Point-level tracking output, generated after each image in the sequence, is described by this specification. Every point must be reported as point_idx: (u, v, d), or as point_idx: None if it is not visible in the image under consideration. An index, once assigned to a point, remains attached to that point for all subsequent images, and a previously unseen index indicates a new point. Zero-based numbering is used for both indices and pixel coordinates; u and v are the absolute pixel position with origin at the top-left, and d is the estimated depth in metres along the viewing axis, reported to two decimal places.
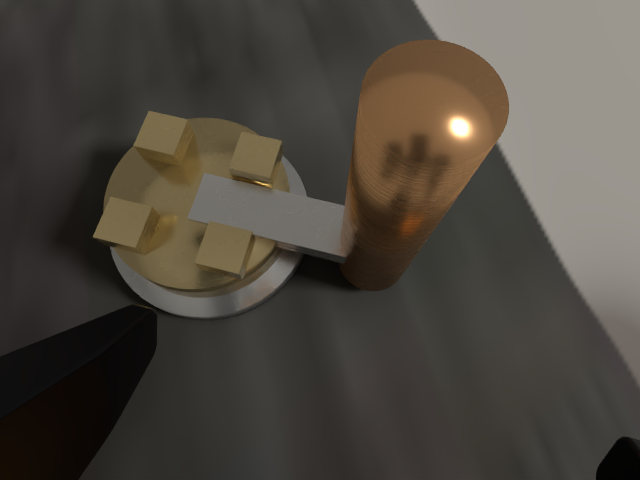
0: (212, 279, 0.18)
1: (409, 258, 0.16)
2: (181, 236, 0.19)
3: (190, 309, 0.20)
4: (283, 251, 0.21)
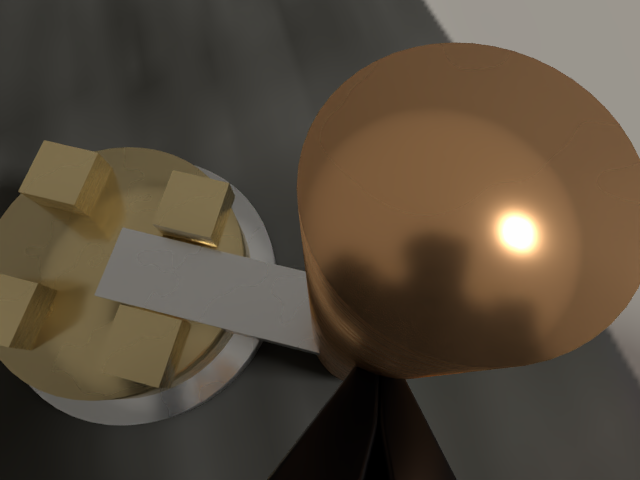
0: (126, 388, 0.12)
1: None
2: (85, 321, 0.13)
3: (106, 414, 0.14)
4: None
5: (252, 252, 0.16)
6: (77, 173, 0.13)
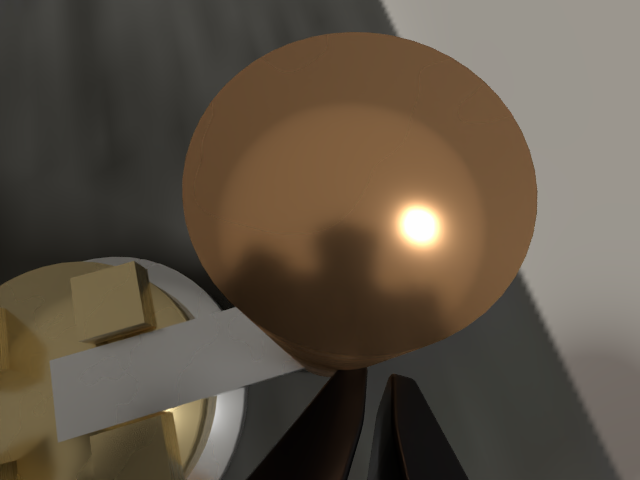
0: None
1: None
2: (63, 472, 0.12)
3: None
4: (201, 458, 0.14)
5: None
6: None
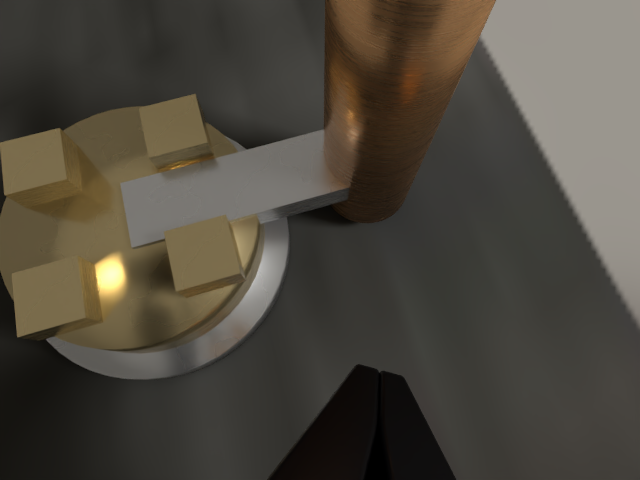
0: (208, 302, 0.13)
1: None
2: (137, 273, 0.13)
3: (123, 368, 0.15)
4: (252, 288, 0.15)
5: None
6: (51, 153, 0.13)
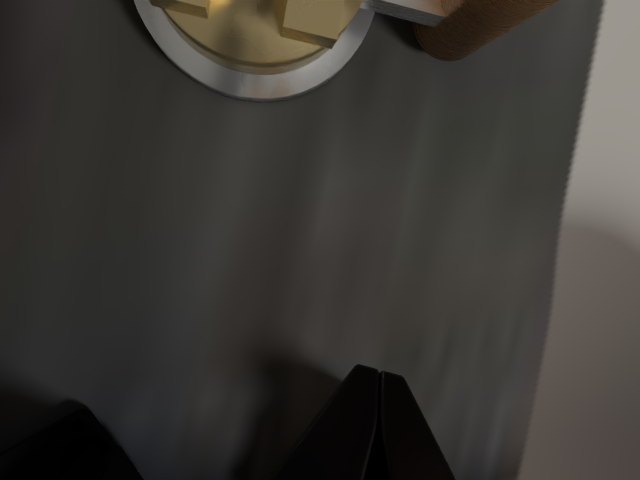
0: (296, 50, 0.15)
1: None
2: None
3: (194, 67, 0.17)
4: (320, 58, 0.18)
5: None
6: None
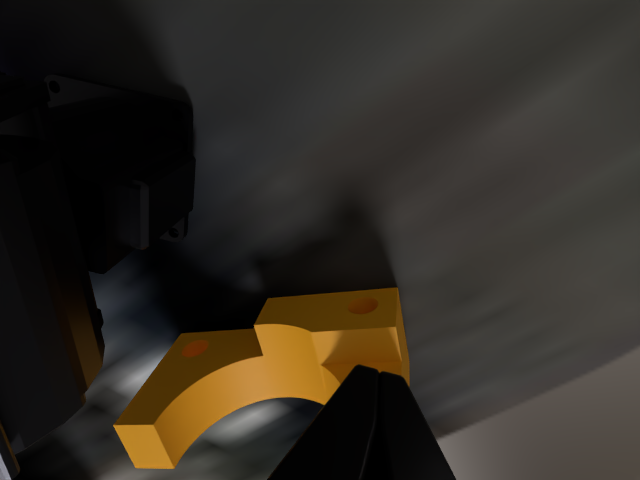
0: None
1: None
2: None
3: None
4: None
5: None
6: None
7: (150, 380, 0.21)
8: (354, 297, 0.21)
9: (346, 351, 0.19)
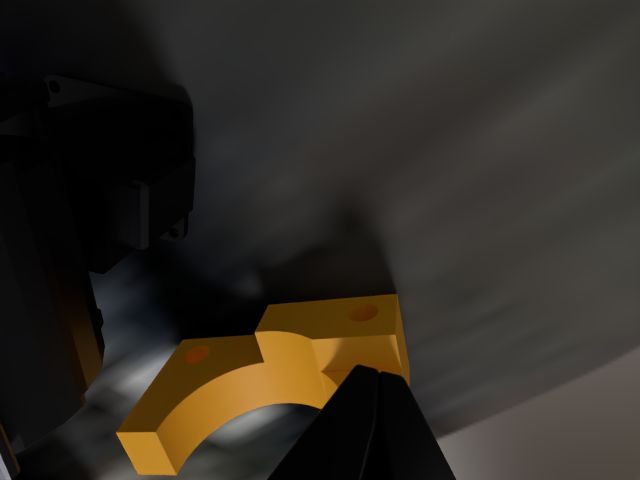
0: None
1: None
2: None
3: None
4: None
5: None
6: None
7: (152, 387, 0.21)
8: (354, 304, 0.21)
9: (346, 358, 0.19)
